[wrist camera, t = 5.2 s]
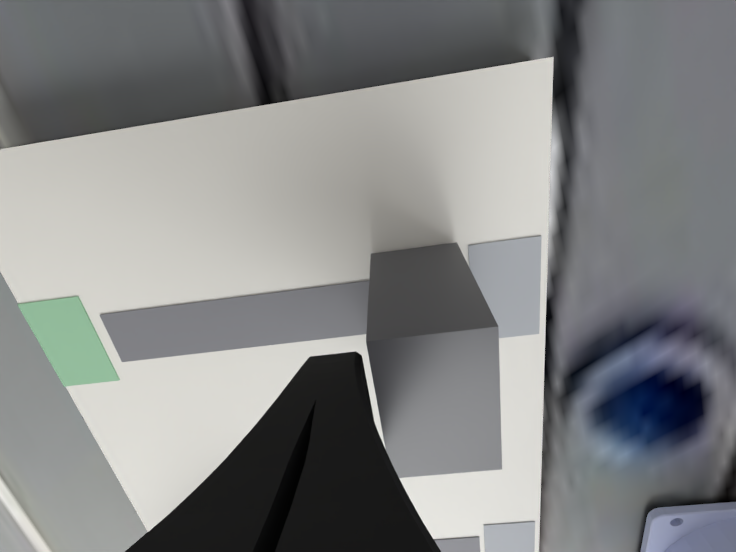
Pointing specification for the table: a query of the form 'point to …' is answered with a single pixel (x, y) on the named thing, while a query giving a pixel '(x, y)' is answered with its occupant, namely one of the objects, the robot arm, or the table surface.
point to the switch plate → (284, 271)
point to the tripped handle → (434, 362)
